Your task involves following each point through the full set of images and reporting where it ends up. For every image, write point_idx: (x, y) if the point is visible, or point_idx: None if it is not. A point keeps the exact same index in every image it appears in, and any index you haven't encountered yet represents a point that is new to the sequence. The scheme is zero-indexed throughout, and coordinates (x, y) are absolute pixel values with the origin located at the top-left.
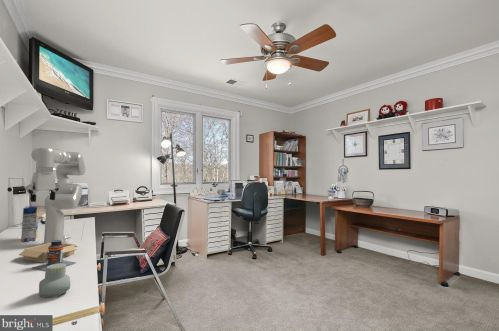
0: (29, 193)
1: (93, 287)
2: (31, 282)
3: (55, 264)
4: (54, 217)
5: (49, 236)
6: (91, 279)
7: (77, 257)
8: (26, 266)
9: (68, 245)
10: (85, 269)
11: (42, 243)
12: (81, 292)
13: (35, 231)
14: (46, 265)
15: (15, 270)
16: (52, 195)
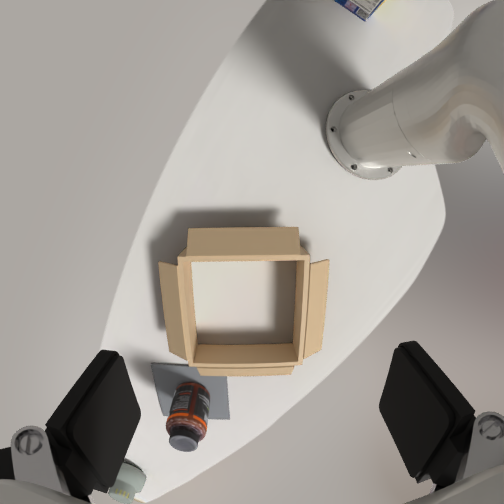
0: (20, 437)
1: (169, 490)
2: None
3: (121, 496)
4: (424, 145)
5: (358, 141)
6: (185, 479)
7: (269, 384)
8: (151, 336)
9: (298, 338)
10: (211, 454)
11: (344, 102)
12: (152, 487)
13: (380, 2)
14: (178, 382)
15: (123, 341)
16: (408, 438)
